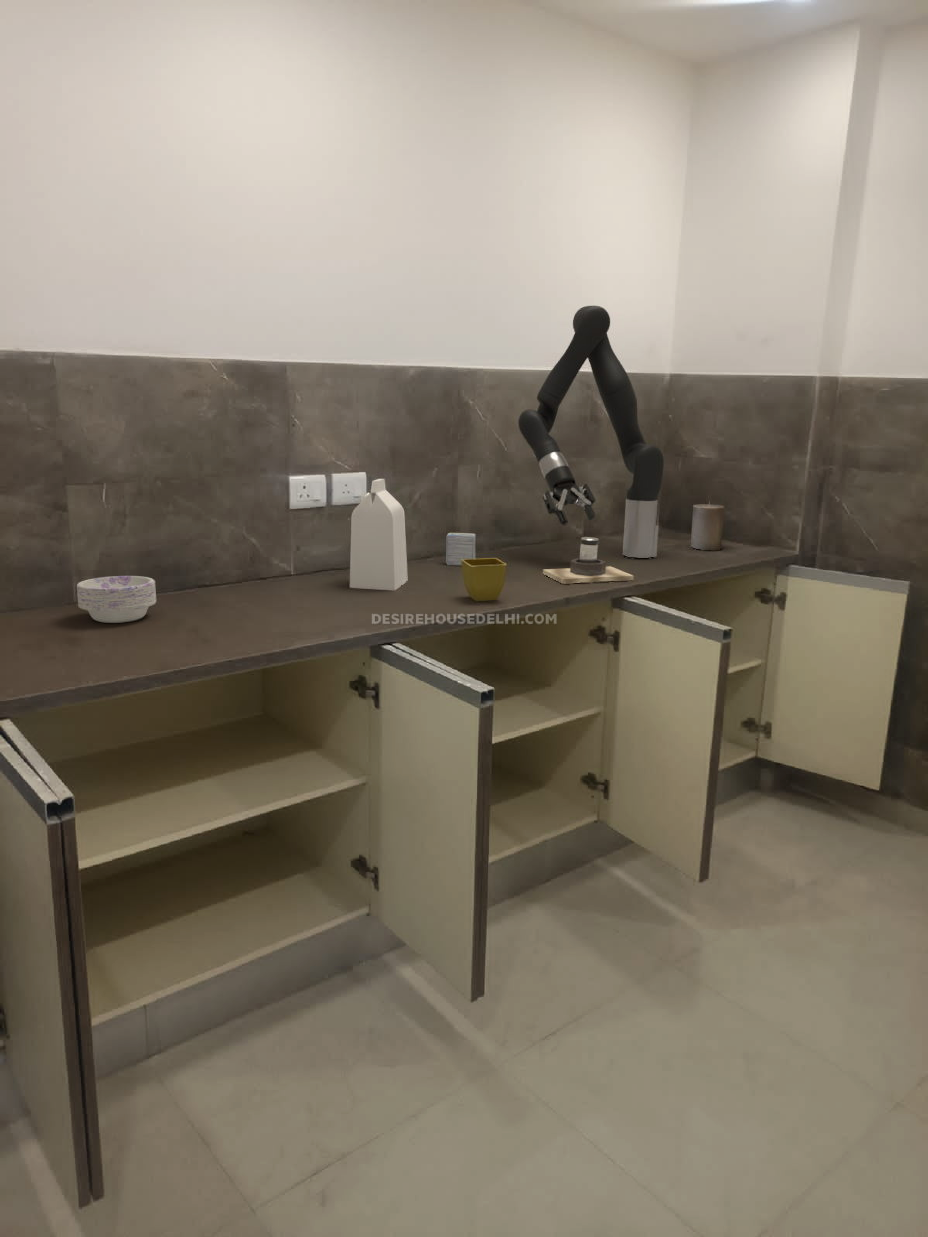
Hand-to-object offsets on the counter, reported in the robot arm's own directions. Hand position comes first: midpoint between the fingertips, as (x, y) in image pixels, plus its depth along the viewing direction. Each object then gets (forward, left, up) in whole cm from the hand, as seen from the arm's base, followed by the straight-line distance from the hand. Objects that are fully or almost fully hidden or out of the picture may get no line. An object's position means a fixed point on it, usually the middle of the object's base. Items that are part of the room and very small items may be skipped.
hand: (579, 521), depth 242 cm
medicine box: (+29, -14, -14) cm, 35 cm away
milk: (+57, +7, -14) cm, 59 cm away
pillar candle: (-56, -23, -14) cm, 62 cm away
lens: (+3, +12, -12) cm, 17 cm away
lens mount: (+2, +12, -13) cm, 18 cm away
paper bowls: (+117, +28, -14) cm, 121 cm away
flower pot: (+37, +29, -14) cm, 49 cm away
